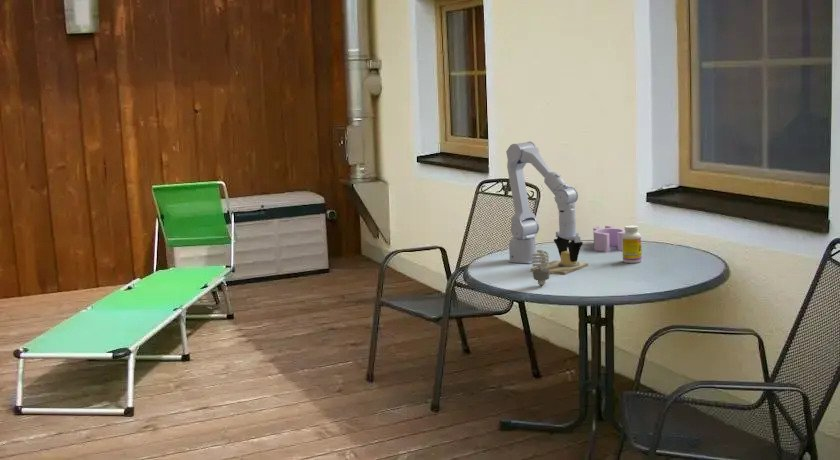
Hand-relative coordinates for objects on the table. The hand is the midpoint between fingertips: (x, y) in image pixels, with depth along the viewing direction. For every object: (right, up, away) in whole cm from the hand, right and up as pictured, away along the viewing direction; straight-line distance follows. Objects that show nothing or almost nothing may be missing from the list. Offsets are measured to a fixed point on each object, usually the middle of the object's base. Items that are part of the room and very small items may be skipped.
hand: (568, 259), depth 343 cm
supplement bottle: (+23, -1, +3) cm, 24 cm away
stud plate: (-3, -3, -1) cm, 5 cm away
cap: (0, -1, 0) cm, 1 cm away
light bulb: (-13, -8, -26) cm, 30 cm away
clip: (+21, +4, +33) cm, 39 cm away
